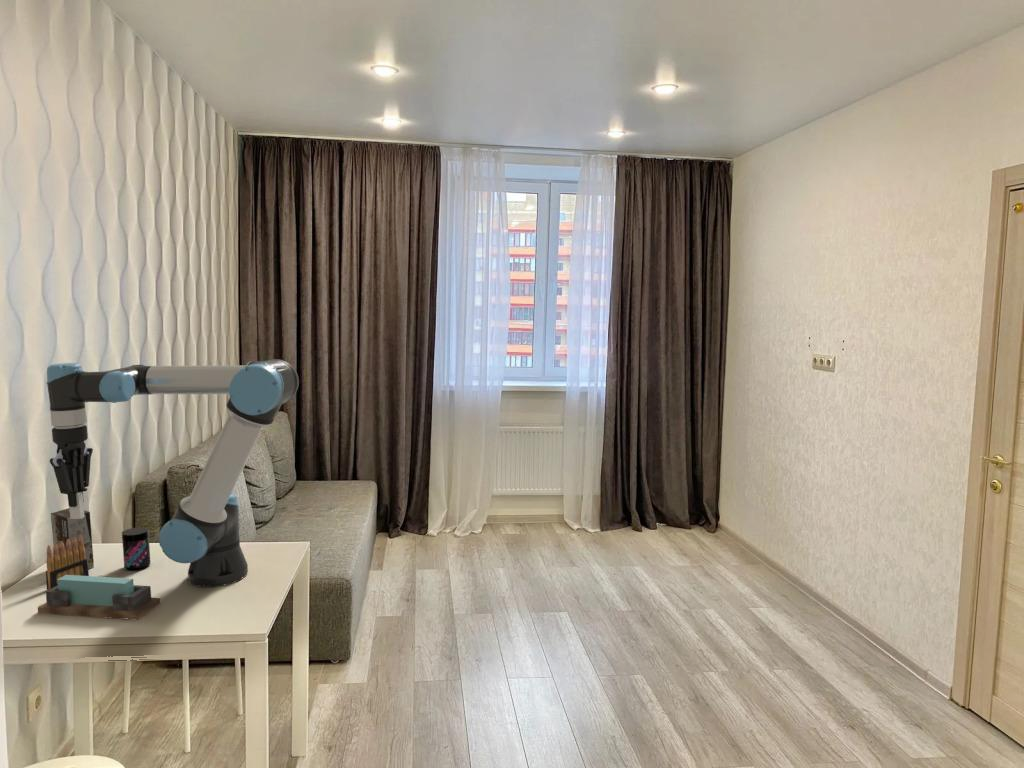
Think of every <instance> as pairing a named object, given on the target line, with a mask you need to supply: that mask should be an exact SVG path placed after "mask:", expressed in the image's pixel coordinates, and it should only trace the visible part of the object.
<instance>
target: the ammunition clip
mask: <svg viewBox="0 0 1024 768" xmlns="http://www.w3.org/2000/svg"><path fill="white" fill-rule="evenodd" d="M45 562H46V571H45V578H46V579H45V580H46V590H47V589H48V590H50V589H52V588H54V587H55V586H57V585H58V583H57V579H59V578H61V577H63V576H65V575H79V576H90V575H89V569H88V564H87V559H86V556H85V548H84V543H83V538H82V536H81V535H79V540H78V546H77V541H76V538H75V537H73V540H72V550H71V544H70V541H69V539H67V541H66V553H65V547H64V544H63V542H62V541H61V542H60V556H59V551H58V547H57V544H56V543H54V544H53V549H52V547H51V546H50V544H48V545H47V548H46V561H45ZM48 590H47V591H48Z"/></svg>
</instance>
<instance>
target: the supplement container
mask: <svg viewBox="0 0 1024 768" xmlns="http://www.w3.org/2000/svg"><path fill="white" fill-rule="evenodd" d="M121 541H122V555H123V557H122V558H123V567H124V569H125V570H126V571H129V572H134V571H141V570H145V569H147V568H149V566H150V565H151V550H150V549H151V548H150V532H149V528H147V527H131V528H128V529H125V530H123V531H122V532H121Z"/></svg>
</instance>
